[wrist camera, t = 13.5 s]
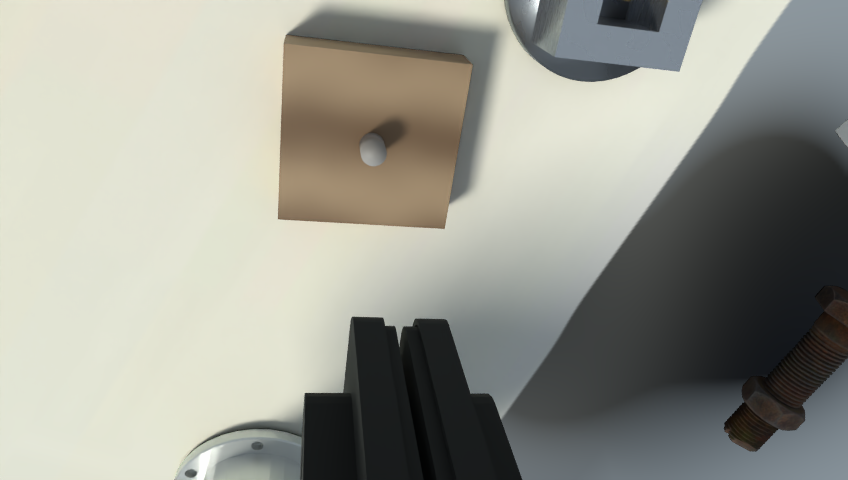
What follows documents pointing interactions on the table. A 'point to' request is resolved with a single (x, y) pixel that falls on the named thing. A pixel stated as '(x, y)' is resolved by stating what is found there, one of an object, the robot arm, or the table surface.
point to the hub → (522, 20)
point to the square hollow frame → (617, 32)
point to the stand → (369, 132)
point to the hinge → (843, 132)
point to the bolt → (793, 376)
